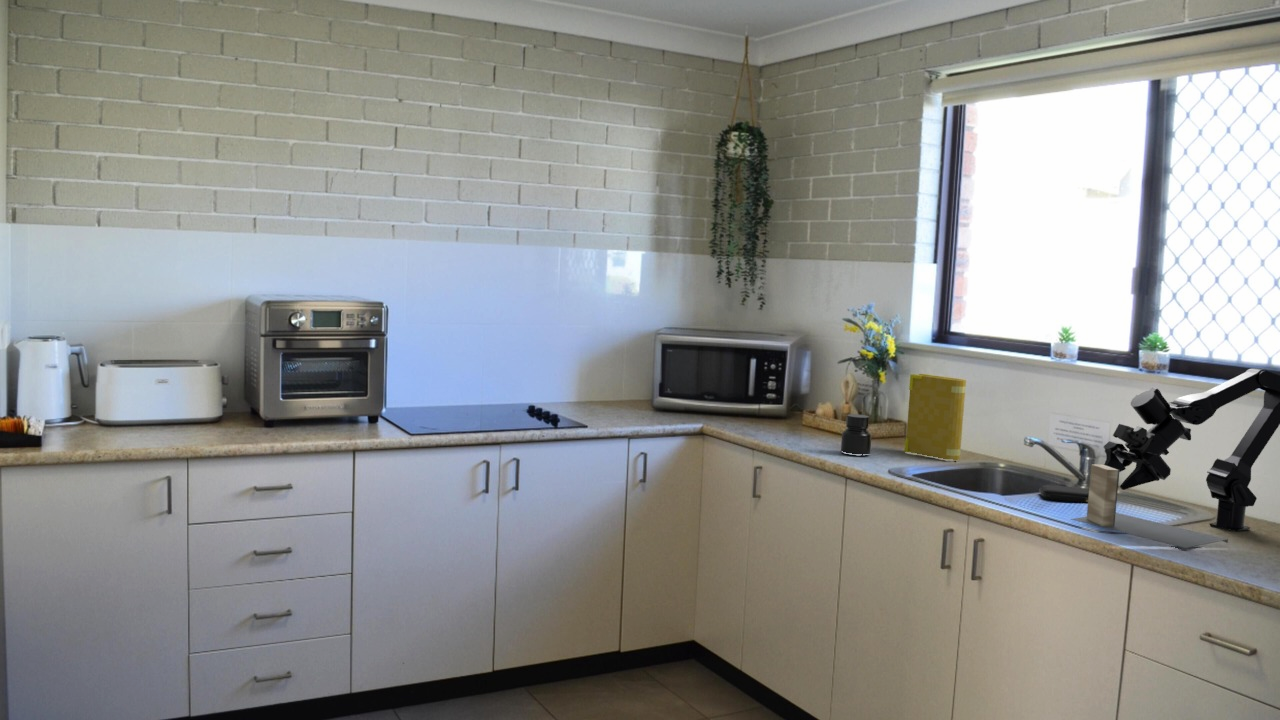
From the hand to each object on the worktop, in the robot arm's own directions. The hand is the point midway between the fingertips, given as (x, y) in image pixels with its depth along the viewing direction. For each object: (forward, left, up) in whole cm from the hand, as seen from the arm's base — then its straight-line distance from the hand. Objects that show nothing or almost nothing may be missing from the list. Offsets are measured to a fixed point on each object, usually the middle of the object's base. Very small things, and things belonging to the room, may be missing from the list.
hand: (1109, 484), depth 242 cm
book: (-33, -78, -10) cm, 85 cm away
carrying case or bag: (-18, -21, -10) cm, 29 cm away
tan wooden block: (+1, -1, -9) cm, 9 cm away
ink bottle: (-11, -90, -10) cm, 91 cm away
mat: (-4, +8, -10) cm, 13 cm away
